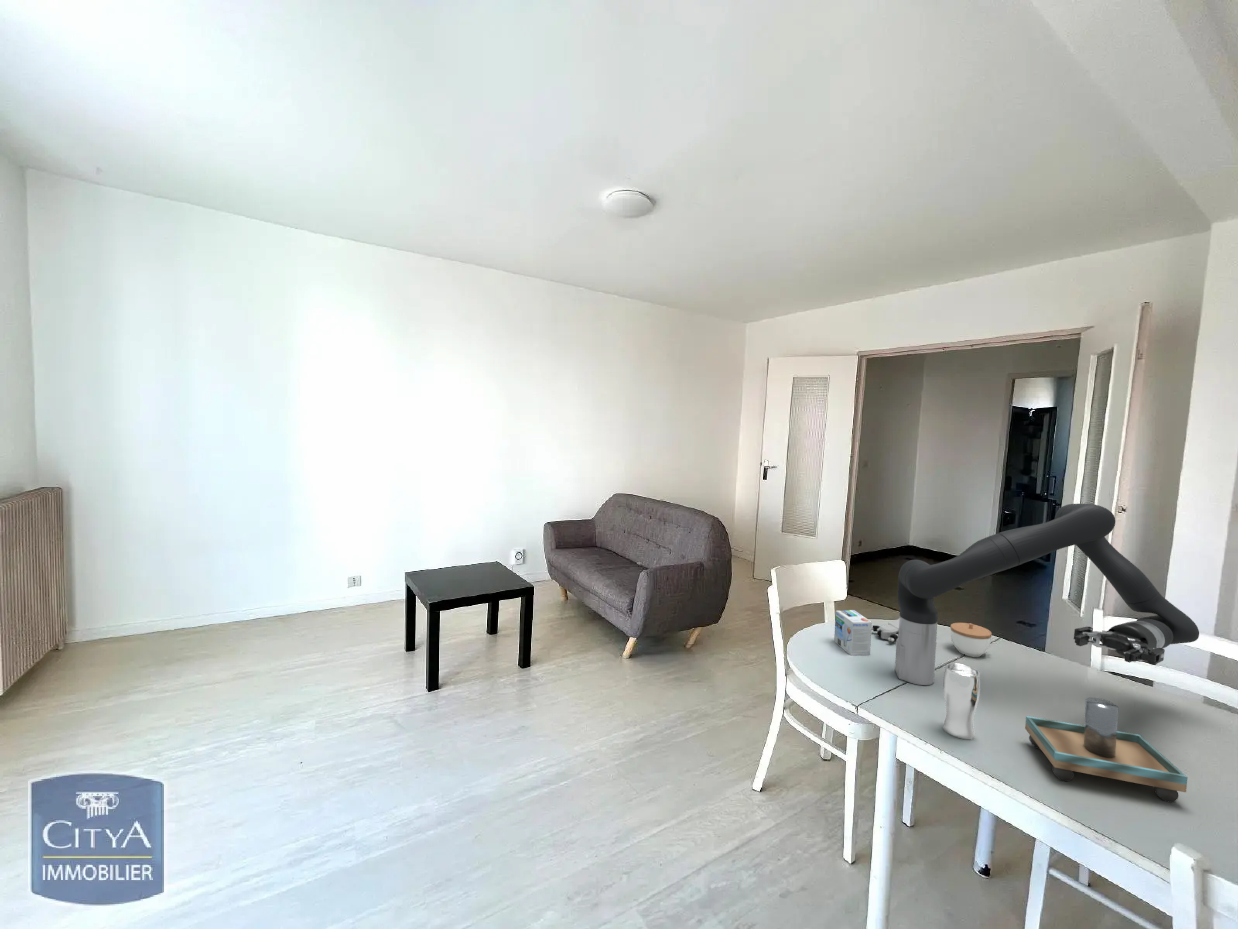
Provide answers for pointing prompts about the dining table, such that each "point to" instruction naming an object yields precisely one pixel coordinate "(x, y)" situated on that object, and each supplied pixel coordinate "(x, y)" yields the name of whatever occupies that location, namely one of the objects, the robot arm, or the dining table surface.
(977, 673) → the beer glass
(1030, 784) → the dining table surface
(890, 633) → the robot toy
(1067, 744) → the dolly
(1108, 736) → the metal part
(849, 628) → the light bulb box
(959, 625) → the lidded jar
